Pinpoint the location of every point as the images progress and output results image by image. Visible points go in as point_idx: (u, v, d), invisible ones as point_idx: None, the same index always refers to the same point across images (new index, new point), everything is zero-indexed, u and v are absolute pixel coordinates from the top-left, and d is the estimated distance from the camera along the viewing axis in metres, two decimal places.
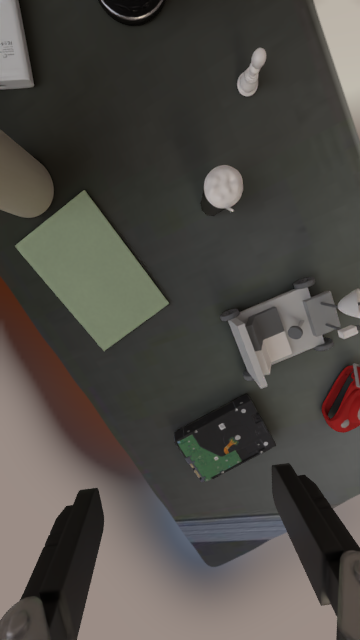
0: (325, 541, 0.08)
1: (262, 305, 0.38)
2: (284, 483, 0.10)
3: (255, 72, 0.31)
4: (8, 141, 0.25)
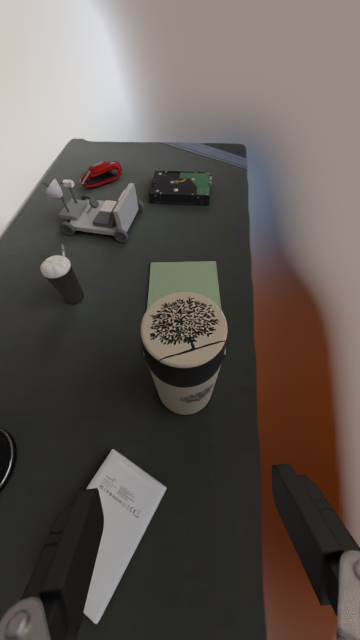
0: (325, 541, 0.08)
1: (99, 229, 0.53)
2: (284, 483, 0.10)
3: None
4: None
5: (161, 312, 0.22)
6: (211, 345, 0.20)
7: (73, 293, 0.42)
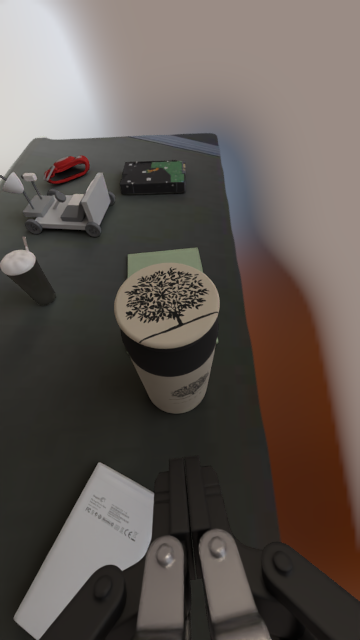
0: (198, 521, 0.09)
1: (68, 224, 0.48)
2: (186, 472, 0.11)
3: None
4: None
5: (138, 287, 0.18)
6: (202, 318, 0.16)
7: (42, 292, 0.38)
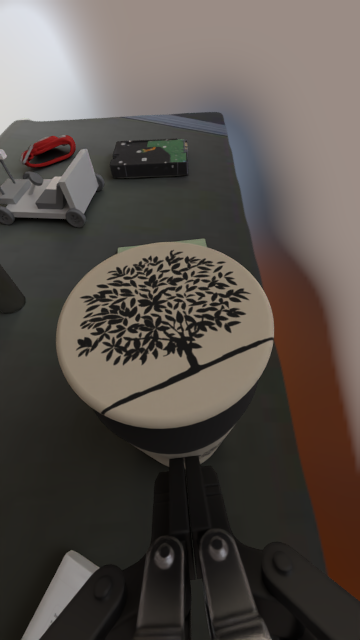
0: (198, 521, 0.09)
1: (45, 212, 0.39)
2: (186, 472, 0.11)
3: None
4: None
5: (108, 287, 0.09)
6: (242, 353, 0.07)
7: (4, 296, 0.29)
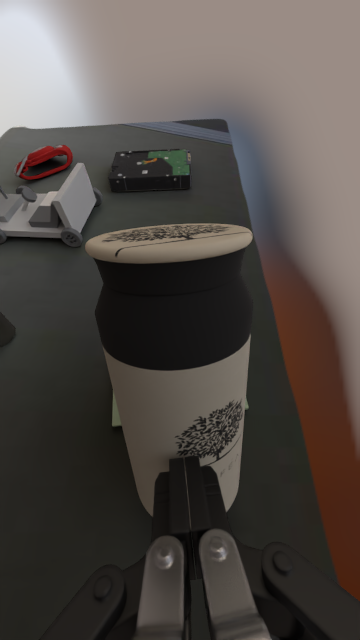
0: (198, 521, 0.09)
1: (39, 231, 0.37)
2: (186, 473, 0.11)
3: None
4: None
5: (128, 232, 0.12)
6: (227, 234, 0.10)
7: None
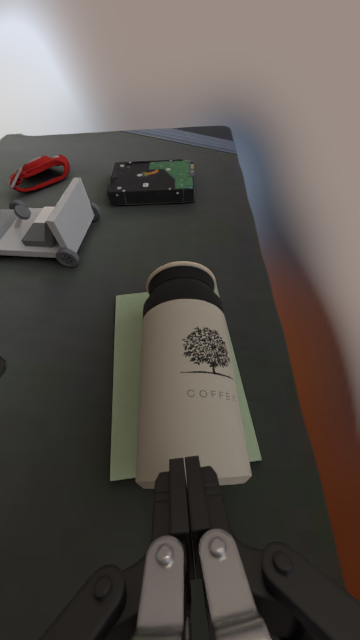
0: (198, 521, 0.09)
1: (33, 250, 0.34)
2: (186, 473, 0.11)
3: None
4: None
5: None
6: None
7: None
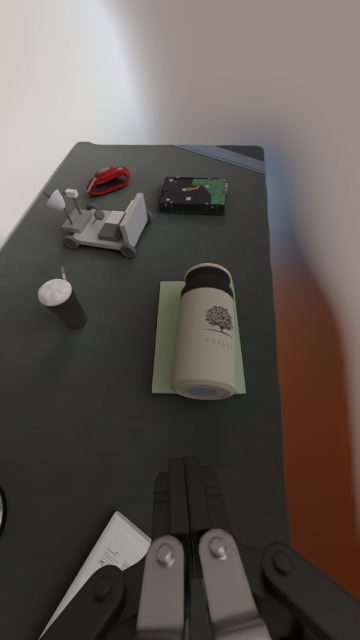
0: (198, 521, 0.09)
1: (104, 243, 0.48)
2: (186, 472, 0.11)
3: None
4: None
5: None
6: None
7: (75, 319, 0.38)
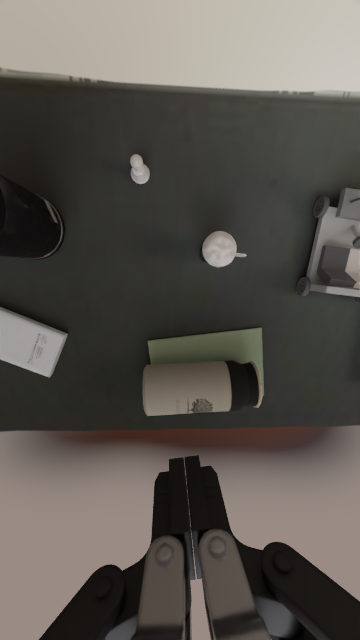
0: (198, 521, 0.09)
1: (315, 255, 0.39)
2: (186, 472, 0.11)
3: (141, 167, 0.35)
4: (201, 363, 0.40)
5: None
6: None
7: (204, 260, 0.38)
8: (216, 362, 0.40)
